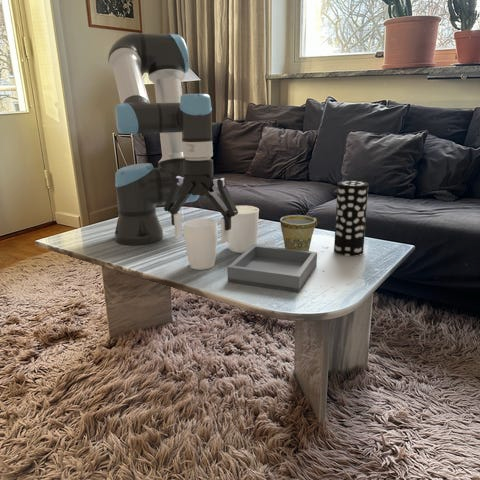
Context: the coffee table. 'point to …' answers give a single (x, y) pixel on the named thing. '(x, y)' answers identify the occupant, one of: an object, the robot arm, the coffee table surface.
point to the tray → (273, 268)
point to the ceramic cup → (297, 231)
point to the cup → (201, 242)
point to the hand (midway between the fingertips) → (201, 239)
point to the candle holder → (243, 229)
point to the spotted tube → (350, 217)
